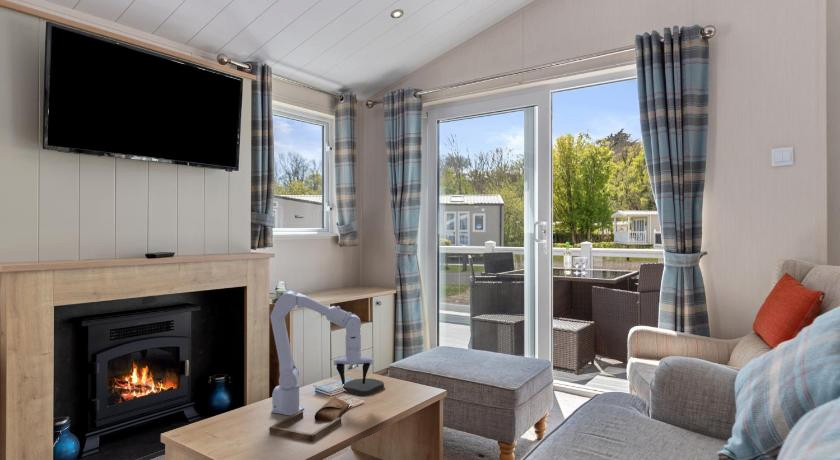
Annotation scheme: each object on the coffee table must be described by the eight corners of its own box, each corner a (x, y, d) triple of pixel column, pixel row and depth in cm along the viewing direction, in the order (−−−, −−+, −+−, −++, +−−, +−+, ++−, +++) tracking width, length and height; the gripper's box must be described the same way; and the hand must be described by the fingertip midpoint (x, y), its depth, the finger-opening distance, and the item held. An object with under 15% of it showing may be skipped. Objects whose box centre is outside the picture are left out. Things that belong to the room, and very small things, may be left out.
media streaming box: (365, 397, 202) (365, 390, 202) (338, 391, 210) (338, 384, 210) (387, 388, 214) (387, 380, 214) (361, 382, 222) (361, 375, 222)
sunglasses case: (337, 422, 175) (327, 405, 175) (320, 431, 176) (311, 414, 176) (353, 404, 192) (344, 389, 193) (338, 413, 194) (329, 398, 194)
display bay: (269, 433, 166) (269, 427, 166) (300, 416, 181) (300, 411, 181) (313, 441, 159) (312, 435, 159) (341, 423, 174) (341, 417, 174)
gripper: (332, 350, 186) (332, 387, 186) (371, 349, 186) (372, 386, 186) (335, 345, 193) (335, 381, 193) (373, 345, 193) (373, 380, 193)
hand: (353, 383), depth 190 cm, fingers open, 7 cm apart
